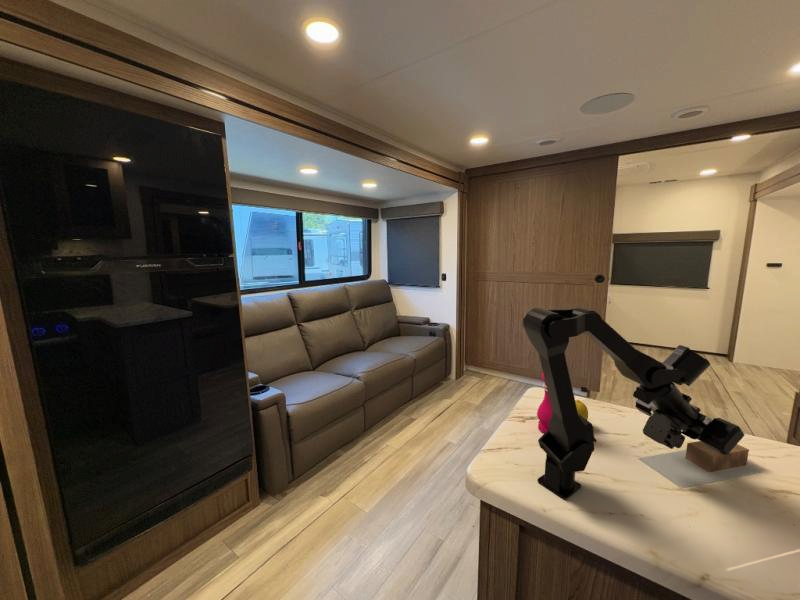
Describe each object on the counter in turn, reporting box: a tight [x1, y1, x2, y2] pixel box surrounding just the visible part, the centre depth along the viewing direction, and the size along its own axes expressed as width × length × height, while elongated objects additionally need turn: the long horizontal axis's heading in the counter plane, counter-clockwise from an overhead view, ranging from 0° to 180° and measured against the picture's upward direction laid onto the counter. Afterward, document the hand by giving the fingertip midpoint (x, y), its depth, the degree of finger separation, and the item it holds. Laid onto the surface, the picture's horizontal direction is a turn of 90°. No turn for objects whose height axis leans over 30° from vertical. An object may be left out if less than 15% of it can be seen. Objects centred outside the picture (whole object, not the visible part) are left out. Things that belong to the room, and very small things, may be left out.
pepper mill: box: [536, 371, 552, 435], centre depth 88 cm, size 7×7×20 cm
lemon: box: [575, 399, 589, 421], centre depth 90 cm, size 6×6×8 cm
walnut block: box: [685, 440, 750, 472], centre depth 75 cm, size 4×5×11 cm
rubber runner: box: [636, 449, 763, 489], centre depth 74 cm, size 23×10×1 cm, turn 102°
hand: (700, 438), depth 73 cm, fingers closed
